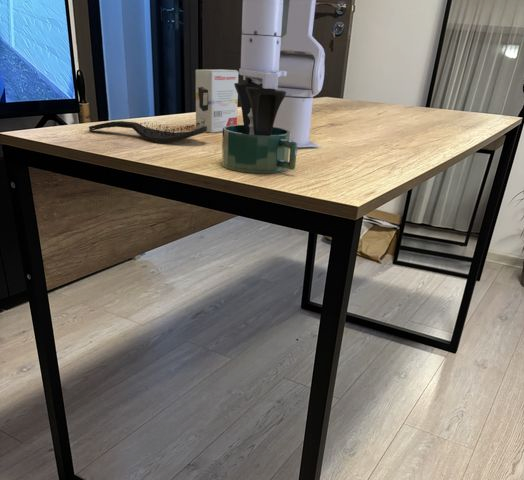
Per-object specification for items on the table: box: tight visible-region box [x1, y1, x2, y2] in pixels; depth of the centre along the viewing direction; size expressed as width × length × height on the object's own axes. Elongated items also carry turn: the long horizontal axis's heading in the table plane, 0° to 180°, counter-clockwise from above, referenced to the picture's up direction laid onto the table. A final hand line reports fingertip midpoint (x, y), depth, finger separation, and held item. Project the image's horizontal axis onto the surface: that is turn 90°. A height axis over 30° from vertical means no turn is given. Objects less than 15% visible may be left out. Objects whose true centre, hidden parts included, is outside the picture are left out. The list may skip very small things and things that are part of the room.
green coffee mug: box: [221, 124, 298, 174], centre depth 84 cm, size 14×11×6 cm
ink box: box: [195, 69, 239, 134], centre depth 114 cm, size 9×5×12 cm, turn 141°
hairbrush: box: [88, 120, 207, 144], centre depth 103 cm, size 8×4×25 cm
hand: (256, 135), depth 84 cm, fingers open, 7 cm apart
